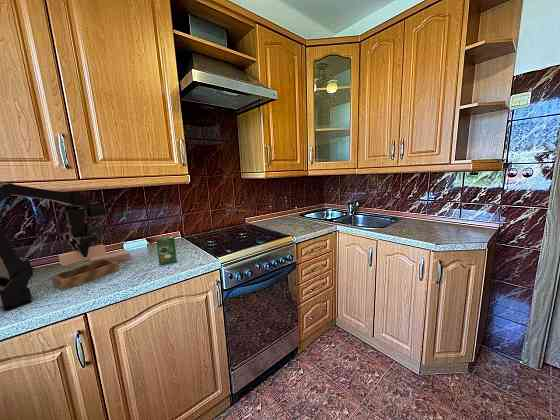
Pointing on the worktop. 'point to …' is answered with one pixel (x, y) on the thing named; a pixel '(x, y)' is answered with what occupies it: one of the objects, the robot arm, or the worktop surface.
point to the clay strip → (77, 256)
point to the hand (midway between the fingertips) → (83, 256)
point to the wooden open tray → (84, 274)
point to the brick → (113, 257)
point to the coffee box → (166, 250)
